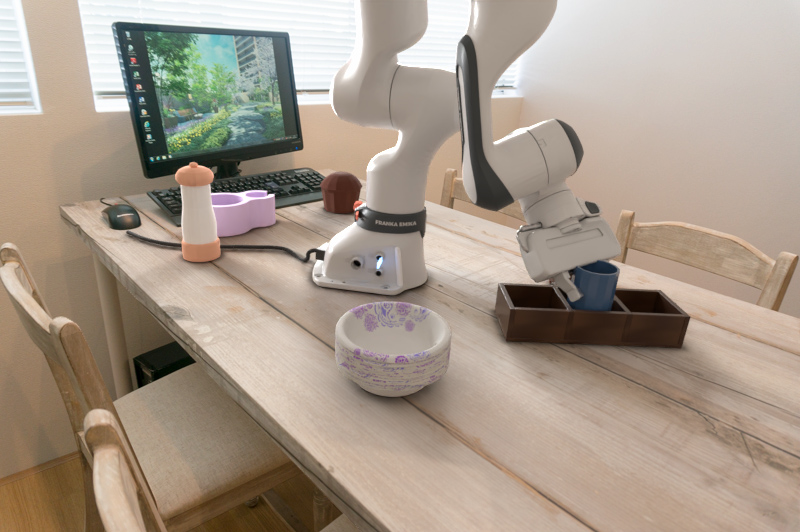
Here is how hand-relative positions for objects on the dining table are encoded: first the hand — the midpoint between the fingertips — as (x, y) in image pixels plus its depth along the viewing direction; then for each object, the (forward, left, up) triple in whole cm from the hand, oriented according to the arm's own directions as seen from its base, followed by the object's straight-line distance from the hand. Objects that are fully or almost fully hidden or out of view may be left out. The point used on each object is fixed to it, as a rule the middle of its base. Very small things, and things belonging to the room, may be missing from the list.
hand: (594, 294), depth 85 cm
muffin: (-46, +65, -7) cm, 80 cm away
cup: (0, 0, -5) cm, 5 cm away
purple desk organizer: (-70, +46, -7) cm, 84 cm away
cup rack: (0, +1, -7) cm, 7 cm away
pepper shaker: (-71, +26, -7) cm, 76 cm away
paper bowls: (-32, -15, -7) cm, 36 cm away
